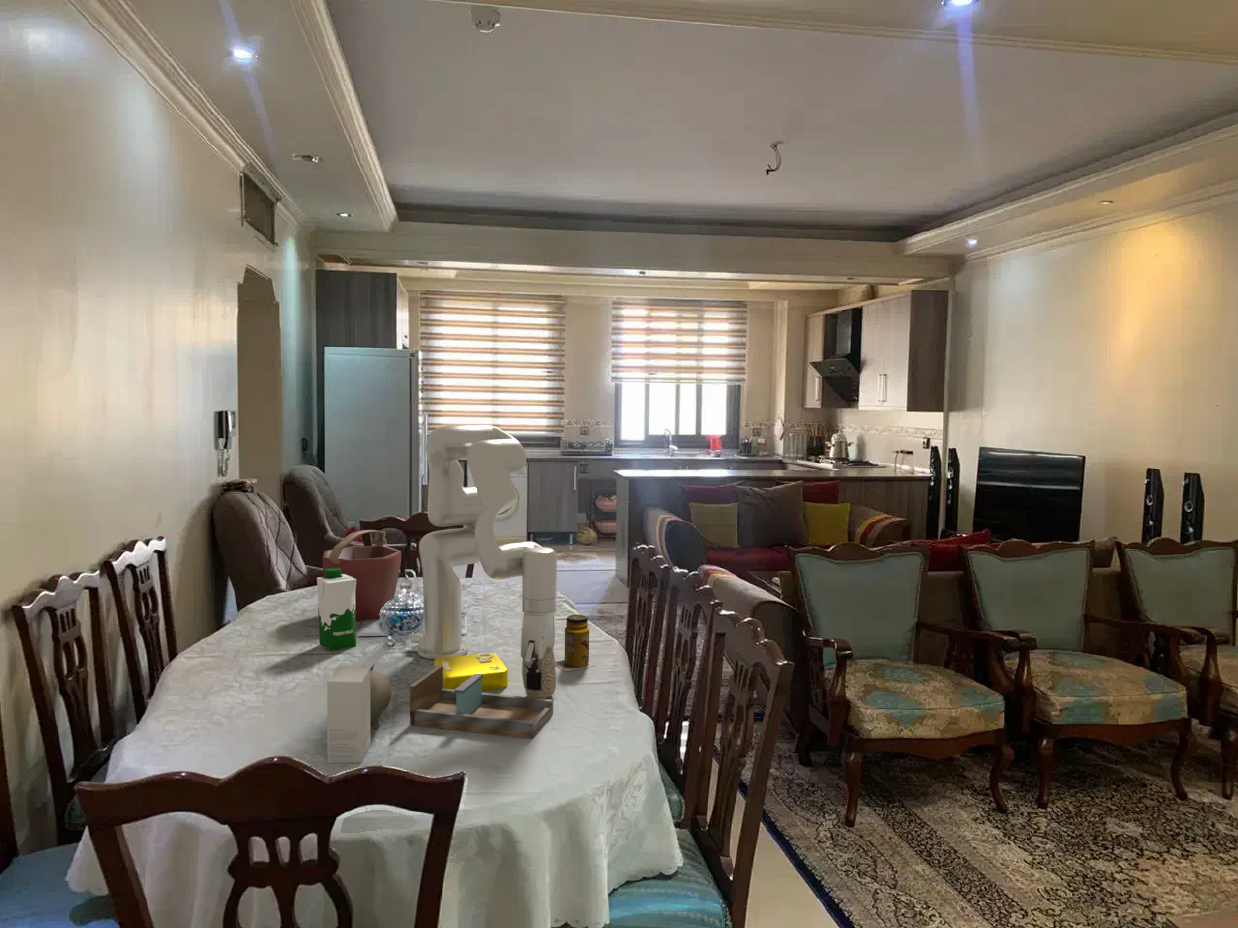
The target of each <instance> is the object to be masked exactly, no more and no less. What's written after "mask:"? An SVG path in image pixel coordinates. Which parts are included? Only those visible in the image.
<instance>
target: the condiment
mask: <svg viewBox="0 0 1238 928" xmlns="http://www.w3.org/2000/svg"><path fill="white" fill-rule="evenodd" d="M588 621H589V619H588V616H586V615H583V614H571V615H568V616H567V617H566V624H565V625H566V626H565V628H564V659H562V660H559V661H558V660H557V661H555V667H557V668H559V669H561V670H562V671H564V672H569V671H574V670H575V671H576V670H581V669H585V668H590V667H591V668H592V667H595V666H596V664H594V663H592V662H590V627H589V624H588Z"/></svg>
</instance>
